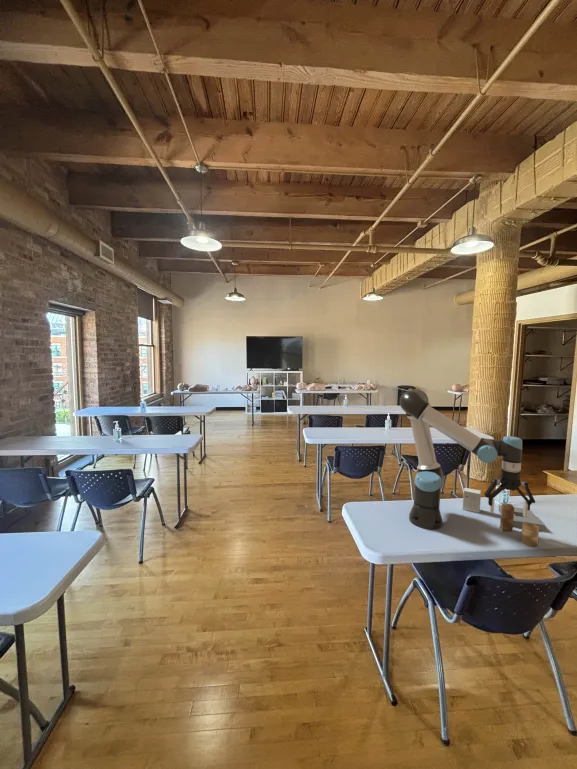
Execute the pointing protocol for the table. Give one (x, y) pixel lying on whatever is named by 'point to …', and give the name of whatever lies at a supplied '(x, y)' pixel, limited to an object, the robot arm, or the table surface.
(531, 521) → the socket block
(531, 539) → the light brown wooden block
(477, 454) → the robot arm
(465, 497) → the small box
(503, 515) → the square peg
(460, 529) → the table surface
